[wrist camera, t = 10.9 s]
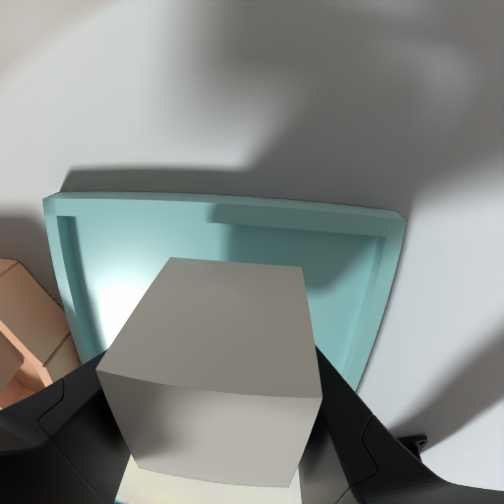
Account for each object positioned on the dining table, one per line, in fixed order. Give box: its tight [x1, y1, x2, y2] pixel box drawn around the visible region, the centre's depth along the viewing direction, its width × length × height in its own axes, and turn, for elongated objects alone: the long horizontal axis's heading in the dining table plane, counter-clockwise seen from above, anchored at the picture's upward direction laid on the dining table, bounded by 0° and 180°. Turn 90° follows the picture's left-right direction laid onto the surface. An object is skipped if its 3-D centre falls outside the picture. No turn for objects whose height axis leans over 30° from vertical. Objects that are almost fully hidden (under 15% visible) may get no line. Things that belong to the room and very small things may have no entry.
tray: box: [42, 192, 407, 391], centre depth 14 cm, size 14×16×1 cm
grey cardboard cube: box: [96, 257, 323, 488], centre depth 8 cm, size 4×4×5 cm
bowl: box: [0, 258, 82, 410], centre depth 14 cm, size 12×12×4 cm
